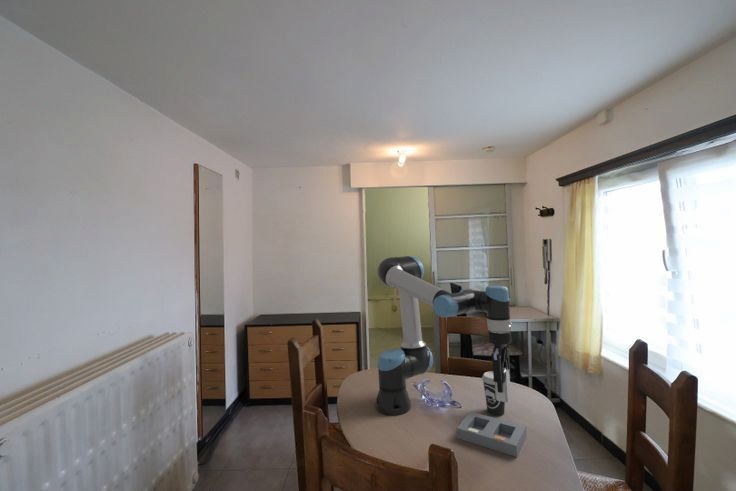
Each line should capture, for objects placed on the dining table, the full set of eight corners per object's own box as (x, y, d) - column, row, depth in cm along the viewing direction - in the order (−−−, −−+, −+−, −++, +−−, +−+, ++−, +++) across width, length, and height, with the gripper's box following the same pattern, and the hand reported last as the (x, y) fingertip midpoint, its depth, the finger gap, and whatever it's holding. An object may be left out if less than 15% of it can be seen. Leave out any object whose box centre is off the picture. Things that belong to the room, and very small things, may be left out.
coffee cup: (510, 418, 130) (508, 380, 130) (485, 417, 132) (483, 379, 132) (505, 406, 139) (503, 371, 139) (481, 405, 141) (480, 370, 141)
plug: (495, 399, 115) (493, 368, 115) (498, 395, 118) (497, 364, 118) (507, 402, 112) (505, 370, 112) (510, 398, 115) (508, 366, 116)
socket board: (457, 438, 118) (456, 427, 118) (471, 420, 129) (470, 411, 129) (517, 457, 106) (516, 445, 106) (526, 436, 117) (526, 425, 117)
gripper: (503, 337, 106) (508, 411, 106) (516, 326, 120) (520, 391, 119) (480, 335, 111) (484, 405, 110) (495, 324, 124) (499, 387, 124)
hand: (503, 398), depth 115 cm, fingers closed on plug, 4 cm apart
